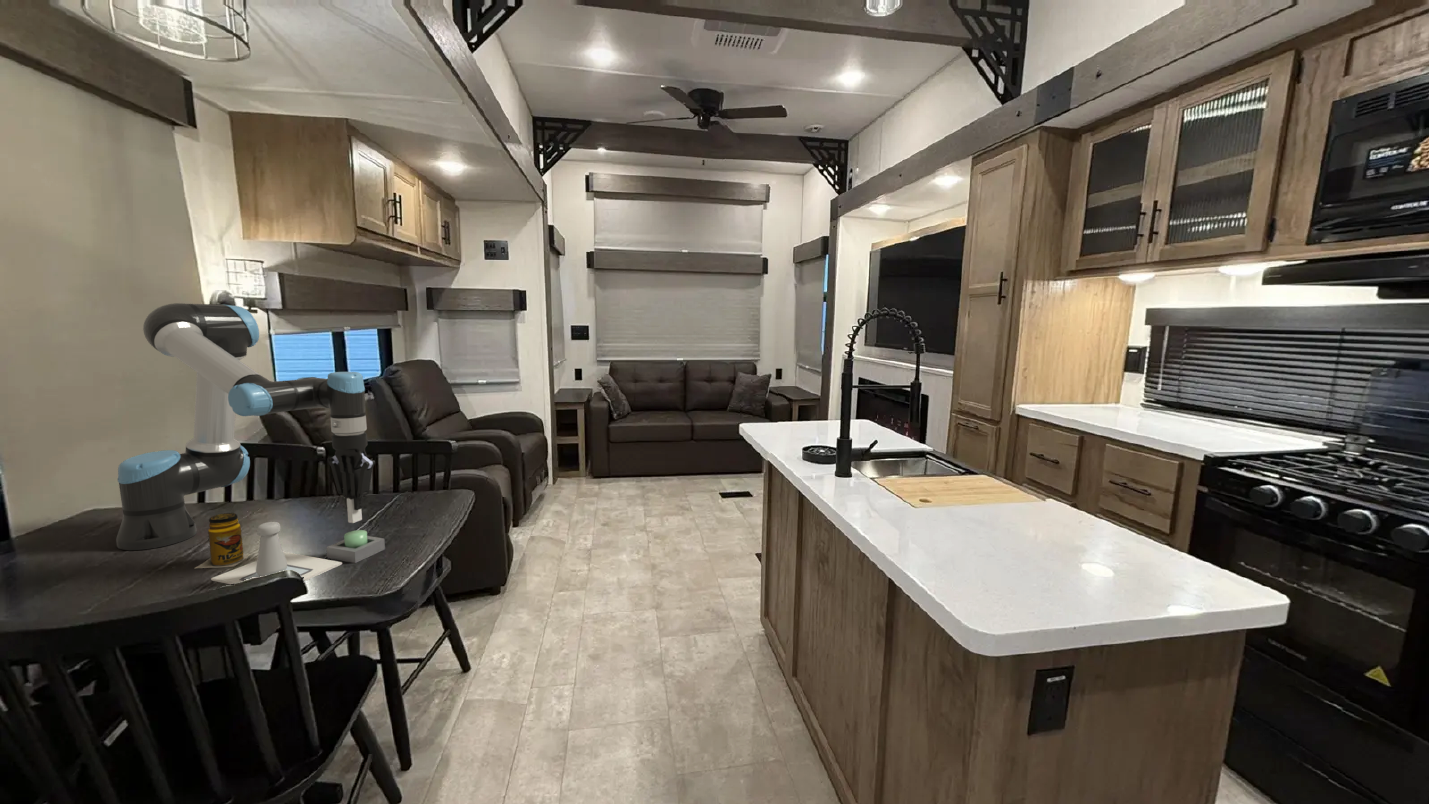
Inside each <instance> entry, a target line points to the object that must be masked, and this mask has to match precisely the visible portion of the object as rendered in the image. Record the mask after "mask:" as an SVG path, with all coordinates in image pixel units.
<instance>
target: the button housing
mask: <svg viewBox="0 0 1429 804" xmlns="http://www.w3.org/2000/svg"><path fill="white" fill-rule="evenodd" d="M367 542H368V543H367V544H365V545H363V546H360V547H358V548H356V549H354V548H348V547H345V541H344V539H343V540H339V541H338V542H336V543H332V544H331V545H328V546H326V556H327V557H326V558H327V559H329V560H330V559H331V560H334V561H340V562H346V563H353V564H357V563H359V562H361V561H363V560H365V559H367V558H369V557H371V556H374V555H376V554H378V553H380V552H382V551H385V550H386V545H385V544H386V543H385V538H382V537H377V536H369V535H367Z"/></svg>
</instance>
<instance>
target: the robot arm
mask: <svg viewBox="0 0 1429 804" xmlns="http://www.w3.org/2000/svg"><path fill="white" fill-rule="evenodd" d="M142 331H143V335H144V338H145V339H146V342H148V344H149V345H151V347H152V348H154V349H155V350H156V351H158V352H160V354H162V355H165V356H168V357H172V358H176V359H177V360H179V361H180V362H182V363H183V364H184V365H186V366H187V367H189V368H190V369H192V370H193V371H194V372H196V380H195V381H196V383H195V400H194V401H195V403H194V422H193V423H194V425H193V438H191V439H189V440H188V441H187V442H186V444H185V451H184V452H183V453H180V452H178V451H177V450H173V449H167V450H165V449H164V450H159V451H152V452H145V453H142V454H138V455H134V456H132V457H129V458H127V459H124V460H123V461H121V463H120V464H119V465H118V467H117V468H118V469H117V482H118V486H119V493H120V494H119V495H120V501H121V508H122V520H121V523H120V526H119V529H118V532H117V536H116V538H115V539H116V540H115V541H116V548H118V549H120V550H124V551H140V550H142V551H143V550H149V549H150V550H151V549H156V548H162V547H166V546H167V547H168V546H170V545H175V544H178V543H181V542H184V541H186V540H189V539H191V538H193V537H194V536H195V535H197V525H196V523H195V521H194V519H193V518H192V516H191V514H190V513H189V511H188V510H187V508H186V505H185V496H188V495H192V494H197V493H202V492H206V491H210V490H214V489H219V488H225V487H228V486H230V485H234V484H236V483H238V482H241V481H242V480H244V479H245V477H246V476H247V474H248V473H249V470H250V466H251V460H250V456H248V455H249V452H248V450H247V449H246V448H245V447H244V446H243V445H241V442H240V441H239V440H237V439H236V438H235V432H236V431H235V428H236V415H237V416H239V417H240V416H241V417H253V416H254V417H256V416H257V417H260V416H265V415H271V414H277V413H285V412H291V411H299V410H306V409H314V408H324V409H325V408H326V409H329V416H330V428H331V429H330V430H331V433H333V434H332V435H331V446H332V449H333V450H335V452H334V456H332V457H328V458H327V463H328V464H329V466H330V467H331V473H332V475H333V479H334V484H335V487H336V491H337V494H338V495H342V496H343V498H345V499H344V500H345V508H346V510H347V522H348V523H349V524H354V523H357V522H360V521H362V520H363V515H362V513H363V512H362V510H363V497H364V496H366V495H369V494H370V488H371V483H372V482H371V481H372V474H373V468H374V467H375V465H376V461H375V460H374V459H372V460H371V459H369V458H368V456H367V452H366V447H367V446H368V433H367V432H366V431H367V429H368V427H367V426H368V424H367V415H366V397H365V396H366V395H365V391H366V388H365V387H366V386H365V383H364V378H363V377H364V376H363V374H362V373H360V372H356V371H336V372H335V371H334V372H330V373H328V374H327V378H322V377H321V378H320V377H316V376H308V377H307V376H306V377H305V376H303V377H298V378H297V379H289V380H278V381H277V380H275V381H272V380H268V379H267V377H264V376H263V375H261V374H260V373H259V372H257V371H256V370H254V369H253V368H251V367H249V366H248V365H247V364H245V363H244V362H242V361H241V360H242V359H245V358H246V357H247V355H248V353H247V352H248V351H247V350H248V348H251V347H254V346H256V344H257V343H258V341H259V338H260V329H259V325H258V323H257V320H256V319H255V318H254V316H253V314H252V313H251V312H250V311H249V310H248V309H246V308H244V307H242V306H239V305H230V304H224V303H223V304H217V303H215V304H213V303H212V304H211V303H183V302H181V303H180V302H175V303H169V304H164V305H161V306H158V307H157V308H155V309H154V310H152V311H151V312H150V313H149V314H148V315H147V316H146V318H145V320H144V322H143V328H142Z"/></svg>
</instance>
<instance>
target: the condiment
mask: <svg viewBox="0 0 1429 804" xmlns="http://www.w3.org/2000/svg"><path fill="white" fill-rule="evenodd" d="M208 521H209V528H208V530H207V533H208V534H207V535H208V543H209V553H210V557H209V558H208V559H207V560H206V561H203V562H202V563H201V564H199V565H198V566H196V567H194V569H203V568H204V569H207V568H208V569H209V568H212V569H213V568H214V569H215V568H216V569H217V568H231V567H232V568H233V567H235V566H237V565H239V564H240V563H242V562H243V561H245V560H246V559H247V558H248V557H249V556H251V555H252V553H244V547H243V546H244V545H243V537H242V526H241V524H240V523H239V519H238V514H237V513H236V512H226V513H220V514H219V513H218V514H216V515H213V516H211V517H209V519H208Z"/></svg>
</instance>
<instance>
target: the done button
mask: <svg viewBox="0 0 1429 804" xmlns="http://www.w3.org/2000/svg"><path fill="white" fill-rule="evenodd" d="M343 536H344V537H343V540H344V541H345V547H348V548H354V549H356V548H358V547H360V546H363V545H365V544H367V543H368V542H367V536H368V532H367V530H364V529H358V530H357V529H356V530H352V531H348V532H346V533H345V534H344V535H343Z"/></svg>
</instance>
